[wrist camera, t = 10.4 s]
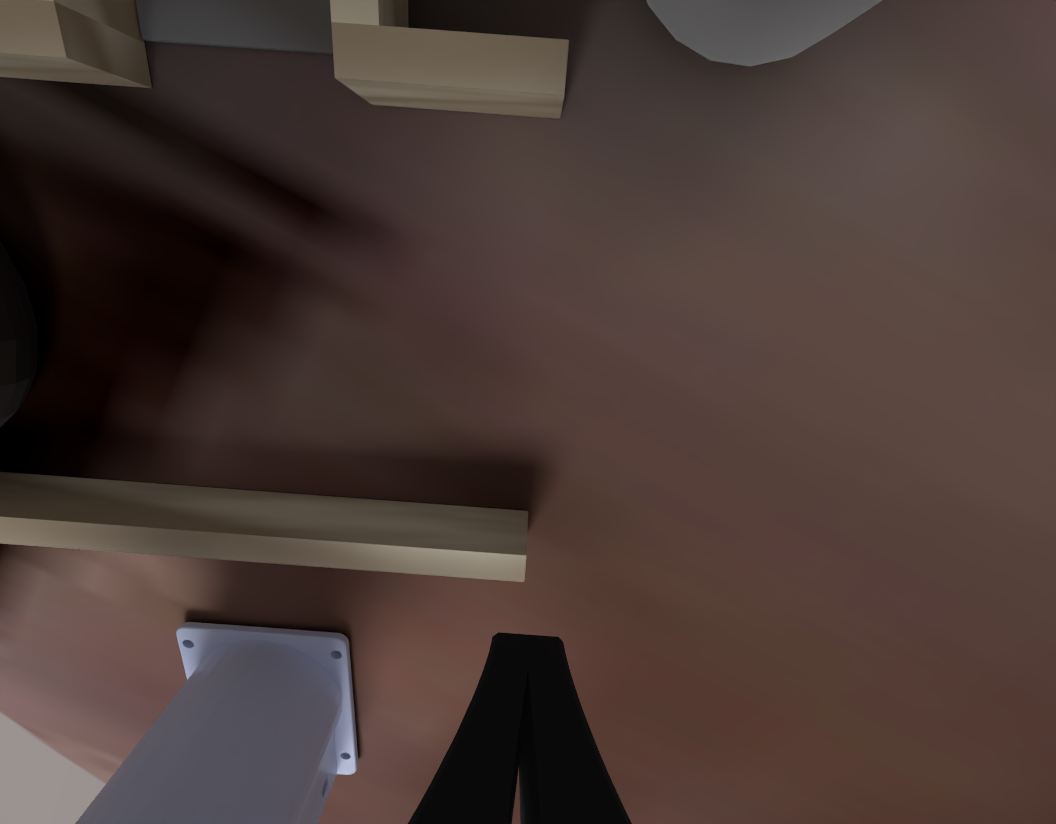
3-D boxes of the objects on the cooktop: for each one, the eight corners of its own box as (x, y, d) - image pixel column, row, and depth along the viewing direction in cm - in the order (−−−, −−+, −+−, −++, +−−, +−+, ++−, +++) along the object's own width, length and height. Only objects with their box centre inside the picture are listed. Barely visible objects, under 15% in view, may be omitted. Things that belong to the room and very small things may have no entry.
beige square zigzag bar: (526, 534, 21) (524, 582, 18) (-195, 481, 21) (-308, 520, 18) (580, -128, 13) (590, -221, 11) (-554, -213, 13) (-843, -329, 11)
